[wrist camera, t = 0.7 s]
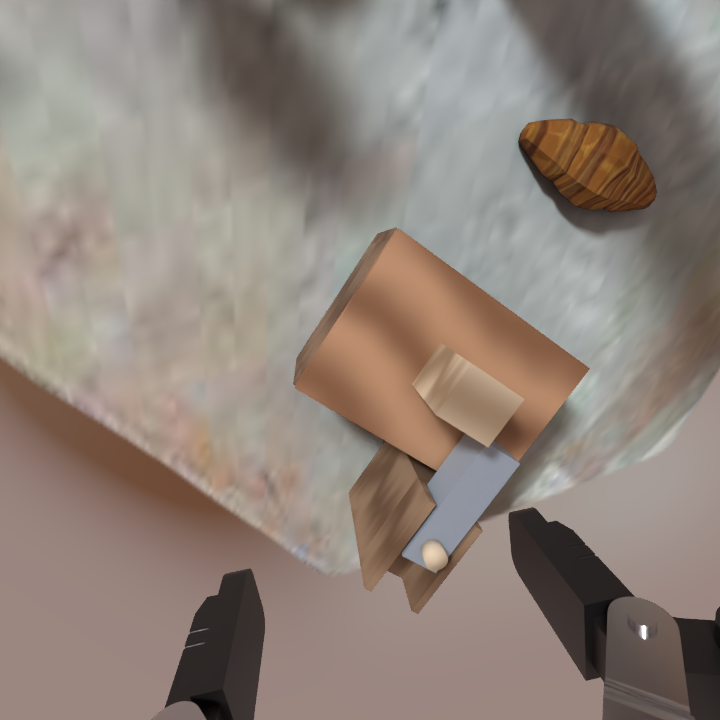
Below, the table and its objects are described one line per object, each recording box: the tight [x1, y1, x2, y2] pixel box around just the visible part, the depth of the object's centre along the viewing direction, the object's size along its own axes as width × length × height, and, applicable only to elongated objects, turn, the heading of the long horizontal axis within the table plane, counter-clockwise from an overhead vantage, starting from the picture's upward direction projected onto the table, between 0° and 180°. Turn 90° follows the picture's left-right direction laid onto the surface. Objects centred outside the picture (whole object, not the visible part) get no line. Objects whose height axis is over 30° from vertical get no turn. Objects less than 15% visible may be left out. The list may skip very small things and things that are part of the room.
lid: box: [295, 229, 590, 471], centre depth 28 cm, size 13×18×7 cm
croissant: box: [518, 119, 657, 212], centre depth 34 cm, size 14×7×5 cm, turn 67°
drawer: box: [401, 433, 520, 573], centre depth 30 cm, size 10×3×4 cm, turn 146°
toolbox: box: [293, 228, 482, 614], centre depth 33 cm, size 22×18×12 cm
